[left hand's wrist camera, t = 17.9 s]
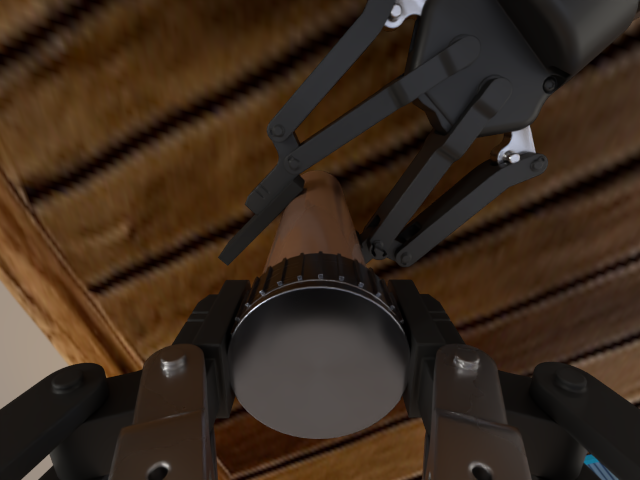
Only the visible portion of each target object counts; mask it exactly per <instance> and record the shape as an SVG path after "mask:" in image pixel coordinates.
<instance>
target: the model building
mask: <svg viewBox="0 0 640 480" xmlns="http://www.w3.org/2000/svg"><path fill="white" fill-rule="evenodd" d="M584 463H585V464H586V465H587V466H588V467H589V468H590V469H591V470H592V471H593V472H594V473H595V474H596V475H597V476H598V477H599V478H600V479H602V480H619V479H618V478H617V477H615V476H614V475H613V474H612V473H611V472H610V471H609V470H608V469H607V468H606V467H605V466H604V465H602V464H601V463H600V462H599V461H598V460H597V459H596V458H595V457H594V456H593V455H592V454H590V455H586V457H585V460H584Z"/></svg>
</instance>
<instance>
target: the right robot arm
mask: <svg viewBox="0 0 640 480" xmlns="http://www.w3.org/2000/svg"><path fill="white" fill-rule="evenodd" d="M639 17H640V0H368V1H367V3H366V6H365V8H364V11H363V13H362V14H361V15H360V17H359V18H358V19H357V20H356V21H355V23H354V24H353V25H352V26H351V27H350V28H349V30H348V31H347V32H346V33H345V34H344V35H343V37H342V38H341V39H340V40H339V41H338V43H337V44H336V45H335V46H334V47H333V48H332V50H331V51H330V52H329V53H328V54H327V56H326V57H325V58H324V59H323V60H322V61H321V63H320V64H319V65H318V66H317V67H316V68H315V70H314V71H313V72H312V73H311V74H310V76H309V77H308V78H307V79H306V80H305V81H304V83H303V84H302V85H301V86H300V87H299V89H298V90H297V91H296V92H295V93H294V94H293V96H292V97H291V98H290V99H289V100H288V102H287V103H286V104H285V105H284V106H283V107H282V109H281V110H280V111H279V112H278V113H277V114H276V116H275V117H274V118H273V119H272V120H271V122H270V123H269V125H268V126H267V134H268V136H269V138H270V139H271V140H272V141H273V143H274V145H275V147H276V149H277V151H278V154H279V162H278V164H277V165H276V167H275V168H274V169H273V170H272V171H271V172H270V173H269V174H268V175H267V176H266V177H265V178H264V179H263V180H262V181H261V182H260V184H259V185H258V186H257V187H256V188H255V189H254V190H253V191H252V192H251V193H250V195H249V196H248V198H247V201H246V203H245V205H246V206H247V207H248V208H249V209H250V210H251V211H253V212H254V213H255V215H254V216H253V217H252V218H251V219H250V220H249V221H248V222H247V224H246V225H245V226H244V227H243V228H242V229H241V230H240V231H239V232H238V233H237V234H236V235H235V236H234V237H233V238H232V239H231V240H230V241H229V242H228V244H227V245H226V247H225V248H224V250H223V251H222V253H221V254H220V255H219V257H218V258H219V259H220V260H222V261H223V262H224V263H225V264H226V265H229V264H230V263H231V262H232V261H233V260H234V259H235V258H236V257H237V256H238V255H239V254H240V253H241V252H242V251H243V250H244V249H245V248H246V247H247V246H248V245H249V244H250V243H251V242H252V241H253V240H254V239H255V238H256V237H257V236H258V235H259V234H260V233H261V232H262V231H263V230H264V229H265V228H266V227H267V226H268V225H269V224H270V223H271V222H272V221H273V220H274V219H275V218H276V217H277V216H278V215H279V214H280V213H281V212H282V211H283V210H284V209H285V208H286V207H287V206H288V205H289V204H290V203H291V201H292V200H293V199H294V198H295V197H296V196H297V195H298V194H299V193H300V192H301V191H302V190H303V188H304V183H305V180H304V179H303V178H302V177H301V176H300V175H299V174H300V173H302V172H303V171H305V170H306V169H308V168H309V167H311V166H312V165H314V164H315V163H317V162H319V161H320V160H322V159H323V158H325V157H326V156H328V155H329V154H331V153H332V152H334V151H335V150H337V149H338V148H340V147H341V146H343V145H344V144H346V143H347V142H349V141H350V140H352V139H353V138H355V137H356V136H358V135H360V134H361V133H363V132H364V131H366V130H367V129H369V128H370V127H372V126H373V125H375V124H376V123H378V122H379V121H381V120H382V119H384V118H385V117H387V116H388V115H390V114H391V113H393V112H394V111H396V110H397V109H399V108H401V107H403V106H405V105H407V104H408V103H410V102H412V103H413V104H414V105H416V106H417V107H419V108H421V109H422V110H424V111H425V113H426V115H427V117H428V119H429V121H430V124H431V125H432V126H433V127H434V128H433V130H432V131H431V132H430V134H429V135H428V137H427V138H426V140H425V142H424V146H423V147H422V149H421V150H420V152H419V153H418V154H417V156H416V157H415V159H414V160H413V161H412V163H411V164H410V165H409V167H408V168H407V170H406V171H405V172H404V174H403V175H402V177H401V178H400V179H399V181H398V182H397V184H396V185H395V186H394V188H393V189H392V190H391V192H390V193H389V195H388V196H387V197H386V199H385V200H384V202H383V203H382V204H381V206H380V207H379V209H378V210H377V211H376V213H375V214H374V215H373V217H372V218H371V220H370V221H369V222H368V224H367V225H366V227H365V228H364V230H363V233H361V234H360V235H359V233H358V232H357V231H356V230H355V231H356V234H357V238H358V241H359V244H360V247H361V250H362V254H363V257H364V260H365V263H366V264H367V263H368V262H369V261H370V260H371V259H373V258H374V259H376V260H382V259H385V258H386V257H387V258H389V259H391V260H394V261H396V262H397V263H398V265H400V266H402V267H409V266H411V265H412V264H414V263H415V262H416V261H417V260H419V259H420V258H421V257H422V256H424V255H425V254H426V253H427V252H429V251H430V250H431V249H432V248H433V247H435V246H436V245H437V244H438V243H440V242H441V241H442V240H443V239H445V238H446V237H447V236H448V235H450V234H451V233H452V232H453V231H455V230H456V229H457V228H458V227H460V226H461V225H462V224H463V223H465V222H466V221H467V220H468V219H470V218H471V217H472V216H473V215H475V214H476V213H477V212H478V211H480V210H481V209H482V208H483V207H485V206H486V205H487V204H488V203H490V202H491V201H492V200H493V199H495V198H496V197H497V196H498V195H500V194H501V193H502V192H503V191H505V190H506V189H507V188H508V187H510V186H513V185H515V184H518V183H520V182H523V181H525V180H528V179H530V178H533V177H535V176H538V175H540V174H542V173H543V172H544V171H545V170H546V168H547V166H548V160H547V158H546V156H544V155H543V154H538V153H536V152H535V148H534V143H533V139H532V134H531V130H530V125H531V124H532V123H533V122H534V120H535V119H536V118H537V116H538V114H539V112H540V110H541V108H542V106H543V104H544V103H545V101H546V100H547V98H548V97H549V96H550V95H551V94H552V93H553V92H555V91H556V90H557V89H559V88H560V87H561V86H563V85H564V84H565V83H566V82H568V81H569V80H570V79H571V78H572V77H574V76H575V75H576V74H577V73H578V72H579V71H580V70H581V69H583V68H584V67H585V66H586V65H587V64H588V63H589V62H590V61H592V60H593V59H594V58H595V57H596V56H597V55H598V54H600V53H601V52H602V51H603V50H604V49H605V48H606V47H607V46H609V45H610V44H611V43H612V42H613V41H614V40H615V39H617V38H618V37H619V36H620V35H621V34H622V33H623V32H624V31H625V30H626V29H627V28H628V27H629V25H630V24H631V23H632V21H633V20H635V19H637V18H639ZM406 19H415V20H416V21H415V26H414V30H413V35H412V39H411V44H410V49H409V53H408V58H407V63H406V67H405V72H404V73H403V74H402V75H400V76H399V77H397V78H396V79H394V80H393V81H391V82H390V83H388V84H387V85H385V86H384V87H383V88H382V89H380V90H379V91H377V92H376V93H374V94H373V95H371V96H370V97H368V98H367V99H366V100H364V101H363V102H361V103H360V104H358V105H357V106H355V107H354V108H352V109H351V110H349V111H348V112H346V113H345V114H343V115H342V116H340V117H339V118H338V119H336V120H335V121H333V122H332V123H330V124H329V125H327V126H326V127H324V128H323V129H321V130H320V131H318V132H317V133H315V134H314V135H312V136H311V137H310V138H308V139H307V140H305V141H304V142H302V143H301V144H300V142H299V140H298V137H297V135H296V133H295V130H296V129H297V128H298V126H299V125H300V124H301V123H302V122H303V121H304V120H305V118H306V117H307V116H308V115H309V114H310V113H311V112H312V110H313V109H314V108H315V107H316V106H317V105H318V104H319V102H320V101H321V100H322V99H323V98H324V97H325V96H326V94H327V93H328V92H329V91H330V90H331V89H332V88H333V87H334V85H335V84H336V83H337V82H338V81H339V80H340V79H341V77H342V76H343V75H344V74H345V73H346V72H347V71H348V69H349V68H350V67H351V66H352V65H353V64H354V63H355V61H356V60H357V59H358V58H359V57H360V56H361V55H362V53H363V52H364V51H365V50H366V49H367V48H368V47H369V45H370V44H371V43H372V41H373V40H374V39H375V38H376V36H377V35H378V34H379V32H380V31H381V29H382V30H384V31H387V32H391V31H394V30H396V29H397V28H398V27H399V26H400V25H401V24H402V22H403V21H404V20H406ZM502 133H504V138H503V140H502V142H501V143H500V144H499V145H498V146H496V147H495V148H494V149H493V150H492V151H491V153H490V158H491V159H489V160H487V161H485V162H483V163H482V164H480V165H478V166H477V167H476V168H474V169H473V170H472V171H471V172H469V173H468V174H467V175H466V176H465V177H463V178H462V179H461V180H460V181H459V182H458V183H456V184H455V185H454V186H453V187H452V188H450V189H449V190H448V191H447V192H446V193H444V194H443V195H442V196H441V197H440V198H438V199H437V200H436V201H435V202H434V203H432V204H431V205H430V206H429V207H428V208H427V209H425V210H424V211H423V212H422V213H421V214H419V215H418V216H417V217H416V218H415V219H413V220H412V221H411V222H410V223H409V224H407V222H408V221H409V220H410V218H411V217H412V216H413V214H414V213H415V212H416V211H417V209H418V208H419V207H420V205H421V204H422V203H423V201H424V200H425V199H426V197H427V196H428V195H429V193H430V192H431V191H432V189H433V188H434V187H435V186H436V184H437V183H438V182H439V180H440V179H441V178H442V176H443V175H444V174H445V172H446V171H447V170H448V168H449V167H450V166H451V165H452V163H453V162H455V161H457V160H458V159H460V158H461V157H462V156H463V154H464V153H465V152H466V151H467V149H468V148H469V147H470V145H471V144H472V143H473V141H474V140H475V139H476V138H478V137H484V136H490V135H496V134H502ZM406 224H407V225H406ZM405 225H406V226H405ZM404 226H405V227H404Z"/></svg>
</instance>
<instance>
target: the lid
mask: <svg viewBox="0 0 640 480" xmlns="http://www.w3.org/2000/svg"><path fill="white" fill-rule="evenodd" d="M402 324H404V320H403V318H402V315H401V313H400V310H399V308H398V305H397V303H396V300H395V298H394V295H393V293H392V292H391V293H389V291H388V288H387V285H386V283H385V281H384V279H382V280H380V279H379V277H378V276H377V275H375V274H374V271H373V269H372V268H371V267H370V268H369V269H368V268H367V267H365V266H364V265H362V264H360V263H359V262H358V260H357V259H354V260H352V259H349V258H346V257H344V256H341V254H339V253H337V255H335V254H327V253H323V251H319V253H310V254H304V253H300V255H299V256H295V257H291V258H289V259H287V258H283V260H282V261H281V262H280V263H278V264H276V265H274V266H273V267H271V266H269V267H268V268H267V271H266V272H265V273H263V274H262V276H261V277H260V278H259V277H256V278H255V280H254V283H253V285H252V288H251V289H250V290H247V291H246V293H245V296H244V298H243V300H242V303H241V305H240V308H239V310H238V313H237V315H236V318H235V323H234V326H233V328H232V331H231V333H230V334H231V338H230V341H229V344H228V348H227V361H228V371H229V380H230V386H231V388H232V390H233V392H234V394H235V396H236V397H237V399H238V400H239V402H240V403H241V405H242V406H243V407H244V408H245V409H246V410H247V411H248V412H249V413H250V414H251V415H252V416H253V417H255V418H256V419H257V420H259V421H260V422H262V423H263V424H265V425H267V426H269V427H271V428H272V429H275V430H277V431H280V432H282V433H285V434H289V435H292V436H297V437H303V438H313V439H327V438H335V437H341V436H345V435H349V434H352V433H355V432H358V431H361V430H363V429H365V428H367V427H369V426H371V425H373V424H374V423H376V422H378V421H379V420H380V419H382V418H383V417H384V416H386V415H387V414H388V413H389V412H390V411H391V410H392V409H393V408H394V407H395V405H396V404H397V403H398V402H399V400H400V399H401V397H402V395H403V394H404V392H405V390H406V387H407V385H408V377H409V368H410V358H411V350H410V346H409V342H408V339H407V335H406V333H405V330H404V328H403V325H402Z"/></svg>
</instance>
